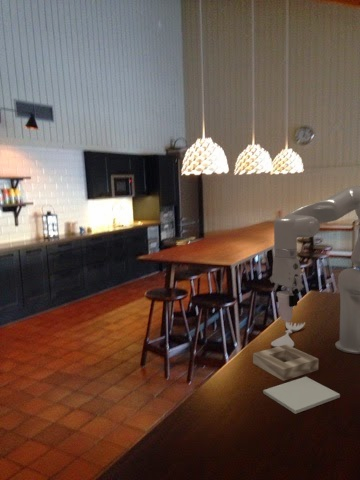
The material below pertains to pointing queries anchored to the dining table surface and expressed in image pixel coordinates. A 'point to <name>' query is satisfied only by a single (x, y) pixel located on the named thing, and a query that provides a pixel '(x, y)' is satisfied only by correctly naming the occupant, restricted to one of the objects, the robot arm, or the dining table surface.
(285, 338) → the white long flared piece
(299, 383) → the serving board
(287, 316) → the smoothie
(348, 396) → the dining table surface
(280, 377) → the wooden square frame
